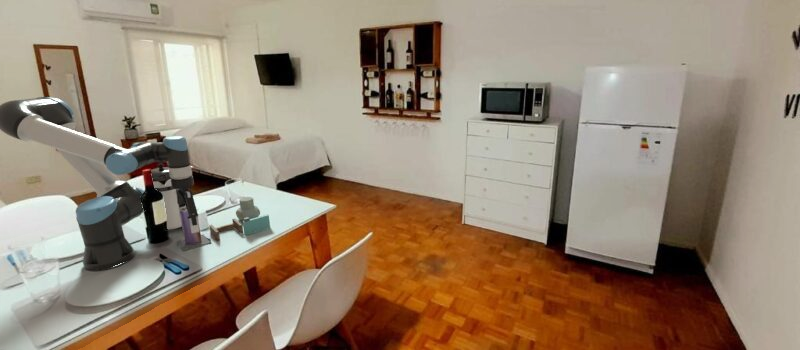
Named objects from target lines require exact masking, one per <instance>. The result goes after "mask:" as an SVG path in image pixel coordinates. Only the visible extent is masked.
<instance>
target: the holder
mask: <svg viewBox="0 0 800 350" xmlns="http://www.w3.org/2000/svg"><path fill="white" fill-rule="evenodd" d="M208 226H209V227H208V228H209V232H210V235H211V236H212V237H213V238H214V239H215V240H216V241H217V242H219V241H221V238H220V233H222V232H224V231H228V230H232V229H235V230H236V231H237V232H238V233H239V234H241V235H242V234H244V227H243V223H241V222H239V221H238V220H237V219H236V218H232V223H228V224H225V225H221V226H217V227H215V226H214V225H213V224H209V225H208Z"/></svg>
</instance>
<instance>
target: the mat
mask: <svg viewBox="0 0 800 350" xmlns="http://www.w3.org/2000/svg"><path fill="white" fill-rule="evenodd" d="M176 243H177V245H178V246H179V248H180V249H181V250H182V251H183V252H186V251H189V250H193V249H197V248H199V247H203V246H206V245H208V244H209V245H210V244H212V241H210V240H209V239H208V238H207V237H206V235H205V234H202V233H201V241H200V242H199V243H197V244H194V245H187V244H186V243H185V240H184V239H181V240H178V241H176Z"/></svg>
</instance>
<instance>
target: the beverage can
mask: <svg viewBox="0 0 800 350" xmlns="http://www.w3.org/2000/svg"><path fill="white" fill-rule="evenodd" d="M179 210H180V211H179V213H180V218H181V223H182V228H181V229H182V232H183V233H182V235H183V240H185V243H186V244H187V245H194V244H197V243H199V242H200V241H201V235H202V233H201V228H200V227H201V226H200V223H199V222H200V221H199V216H198V217H197V220H198V225H199V232H195V233H191V228H190V222H189V219H188V218H187V217H189V214H188V211H187V208H186V206H184V207H181V208H180V209H179Z"/></svg>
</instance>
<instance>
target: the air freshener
mask: <svg viewBox="0 0 800 350" xmlns="http://www.w3.org/2000/svg"><path fill="white" fill-rule="evenodd" d="M235 214H236V215H235V216H236V217H237V219H238V220H240V221H242V222H243V221H244V220H243V218H246V217H249V218H250V219H253V218H257V217H260V215H261V210H260V208H259V207H258V206H256V205H255V203H254V197H252V196H245V197H241V198H240V199H239V208H238V209H236V211H235Z"/></svg>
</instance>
